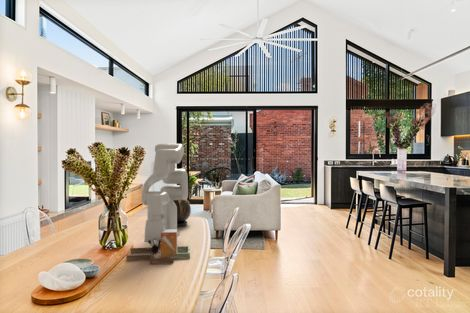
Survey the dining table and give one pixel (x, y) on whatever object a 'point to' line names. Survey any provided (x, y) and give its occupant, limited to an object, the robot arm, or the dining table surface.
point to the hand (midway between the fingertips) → (155, 253)
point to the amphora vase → (182, 211)
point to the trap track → (158, 260)
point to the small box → (168, 242)
